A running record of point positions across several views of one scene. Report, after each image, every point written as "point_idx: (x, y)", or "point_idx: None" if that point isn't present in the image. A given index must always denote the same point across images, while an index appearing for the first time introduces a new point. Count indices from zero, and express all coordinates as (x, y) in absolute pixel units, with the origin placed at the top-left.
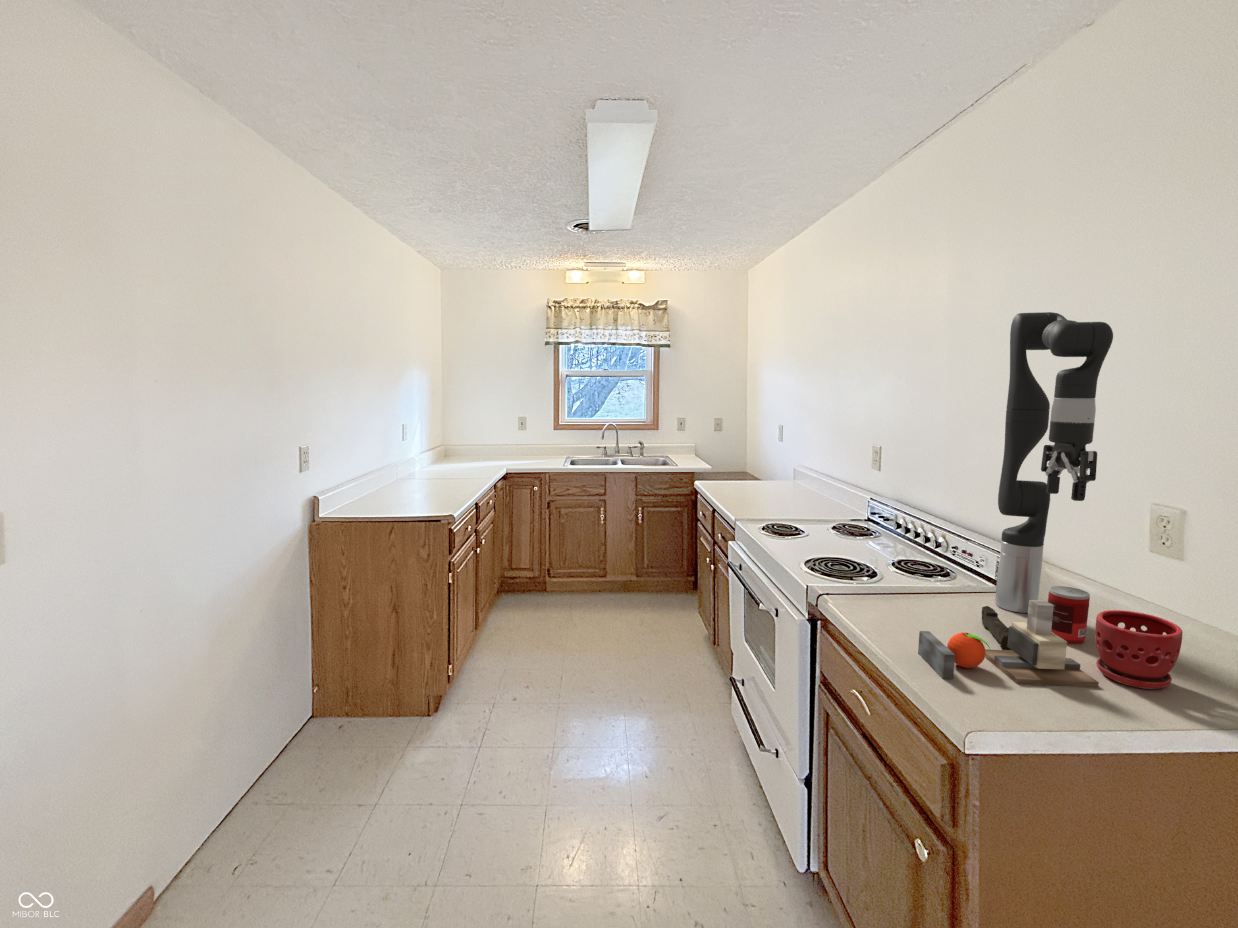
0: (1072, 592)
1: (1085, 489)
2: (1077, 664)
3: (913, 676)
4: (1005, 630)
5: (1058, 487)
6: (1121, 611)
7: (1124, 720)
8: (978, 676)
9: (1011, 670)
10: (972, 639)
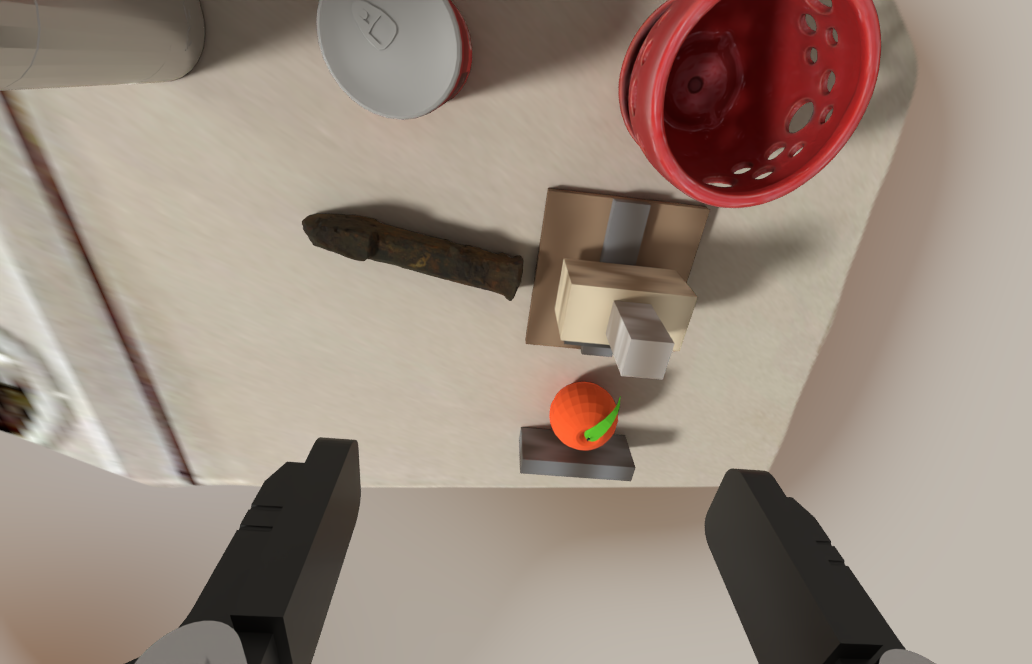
0: (385, 23)
1: (858, 586)
2: (648, 211)
3: (606, 480)
4: (480, 278)
5: (333, 486)
6: (670, 66)
7: (822, 263)
8: (621, 394)
9: None
10: (606, 435)
